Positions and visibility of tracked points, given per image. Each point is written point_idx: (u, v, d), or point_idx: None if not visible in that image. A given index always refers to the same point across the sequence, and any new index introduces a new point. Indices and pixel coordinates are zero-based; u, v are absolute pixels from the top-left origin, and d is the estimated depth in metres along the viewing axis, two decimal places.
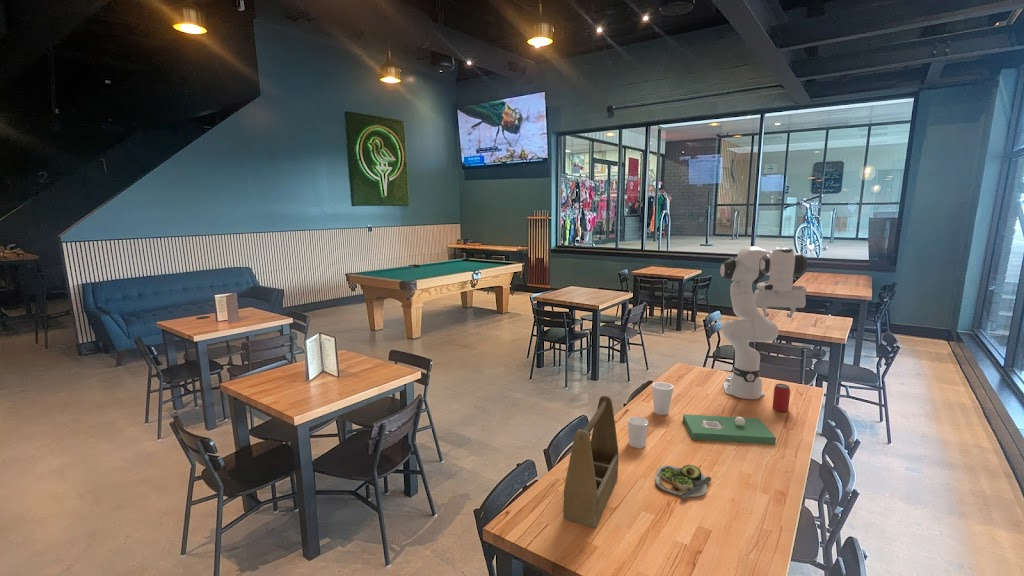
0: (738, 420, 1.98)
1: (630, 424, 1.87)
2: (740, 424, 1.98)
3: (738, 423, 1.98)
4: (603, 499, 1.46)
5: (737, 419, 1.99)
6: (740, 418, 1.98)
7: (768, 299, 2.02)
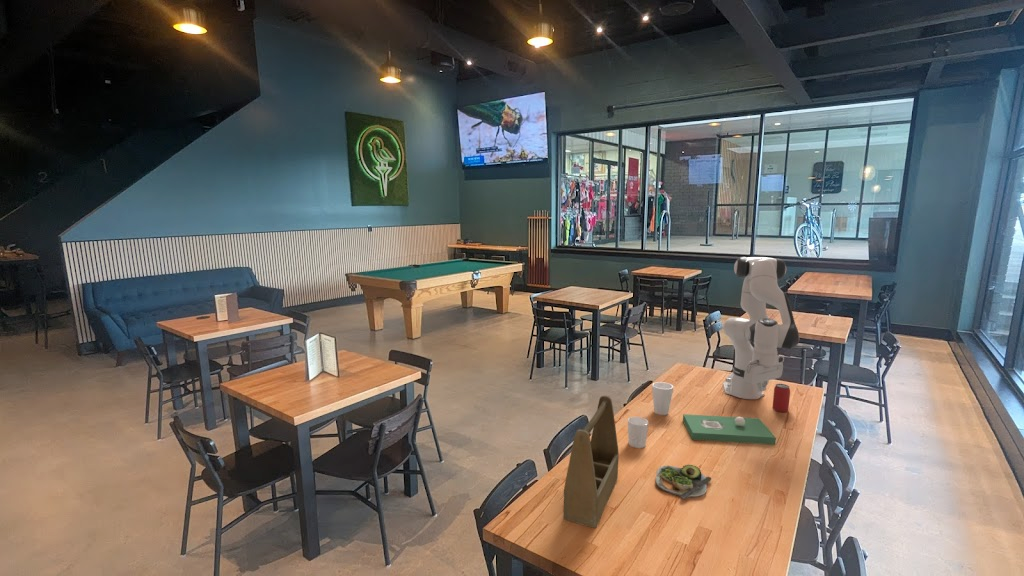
0: (738, 420, 1.98)
1: (630, 424, 1.87)
2: (740, 424, 1.98)
3: (738, 423, 1.98)
4: (603, 499, 1.46)
5: (737, 419, 1.99)
6: (740, 418, 1.98)
7: None
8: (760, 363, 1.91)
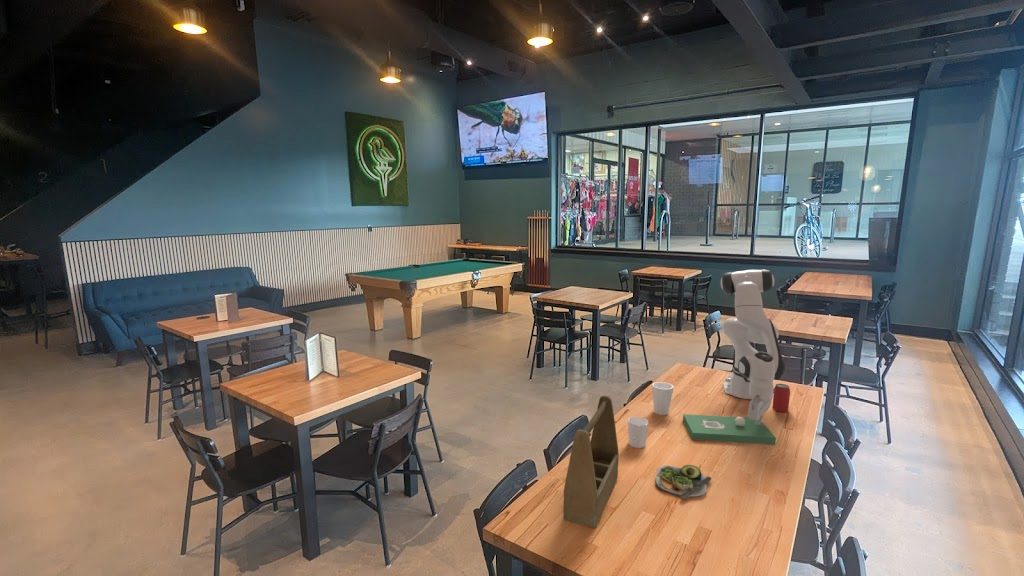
0: (738, 420, 1.98)
1: (630, 424, 1.87)
2: (740, 424, 1.98)
3: (738, 423, 1.98)
4: (603, 499, 1.46)
5: (737, 419, 1.99)
6: (740, 418, 1.98)
7: None
8: (760, 398, 1.92)
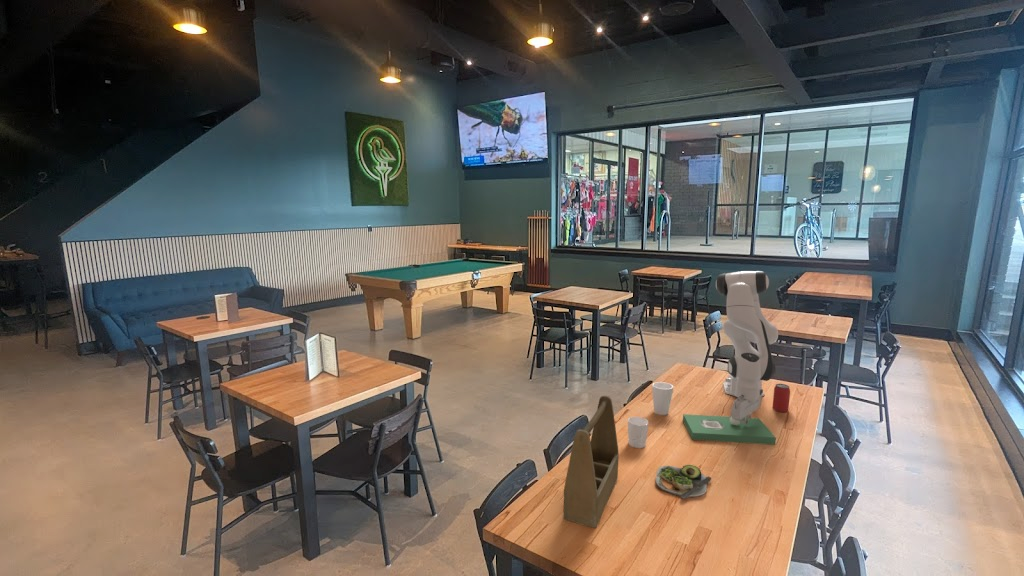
0: (731, 421, 1.99)
1: (630, 424, 1.87)
2: (736, 423, 1.98)
3: (734, 423, 1.99)
4: (603, 499, 1.46)
5: (731, 421, 2.00)
6: (731, 418, 2.00)
7: None
8: (745, 398, 1.93)
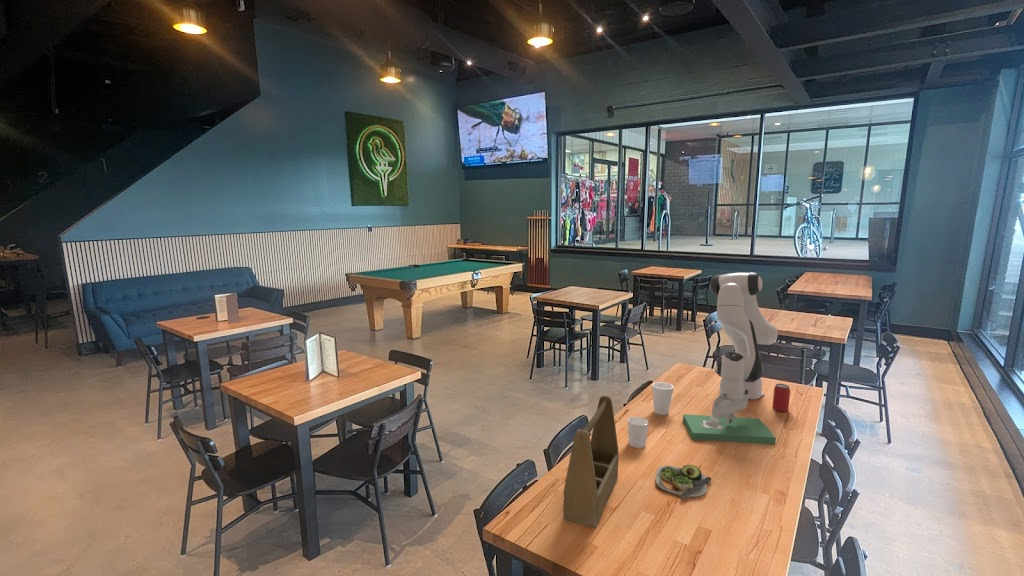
0: None
1: (630, 424, 1.87)
2: (713, 419, 2.01)
3: (714, 418, 2.01)
4: (603, 499, 1.46)
5: None
6: None
7: None
8: (727, 397, 1.95)
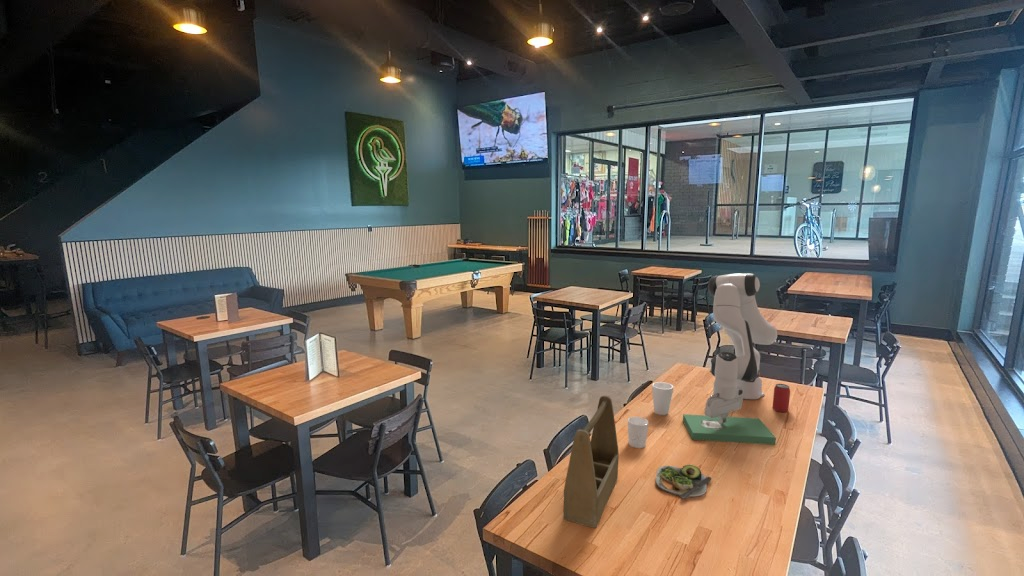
0: (709, 423, 2.02)
1: (630, 424, 1.87)
2: None
3: None
4: (603, 499, 1.46)
5: (711, 422, 2.02)
6: (711, 424, 2.01)
7: None
8: (720, 396, 1.95)
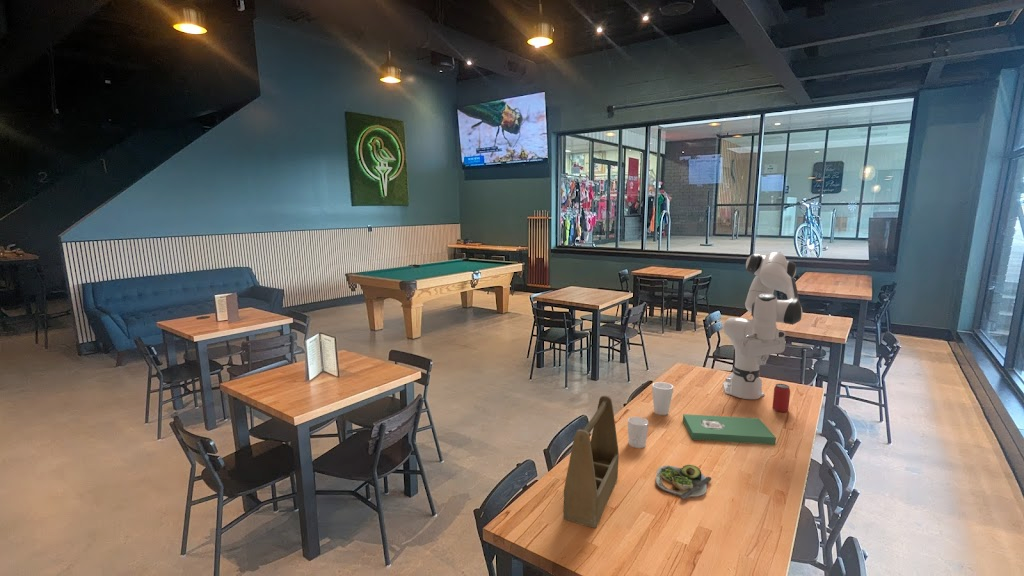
0: (709, 423, 2.02)
1: (630, 424, 1.87)
2: None
3: None
4: (603, 499, 1.46)
5: (711, 422, 2.02)
6: (711, 424, 2.01)
7: None
8: (758, 337, 1.95)
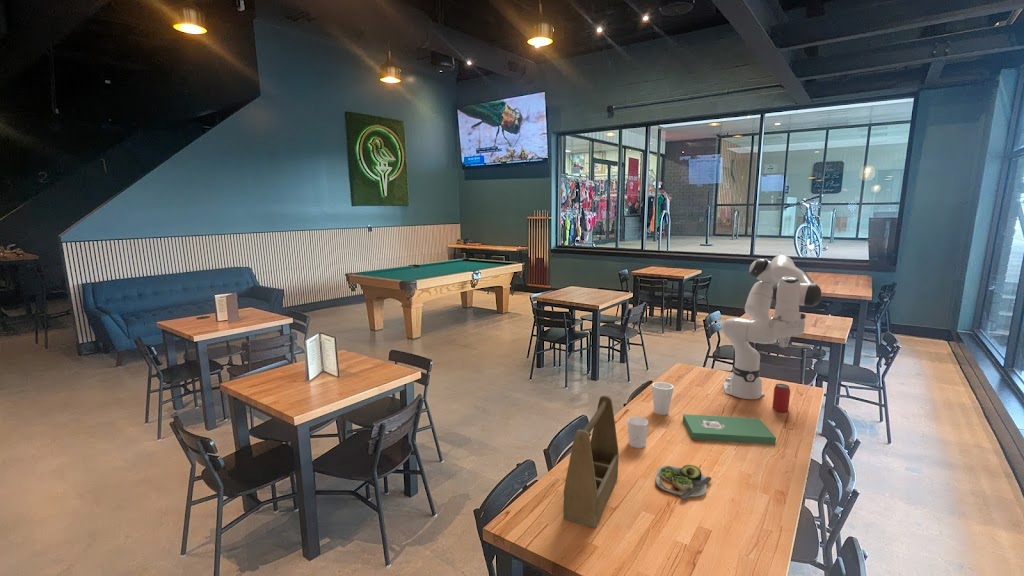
0: (709, 423, 2.02)
1: (630, 424, 1.87)
2: None
3: None
4: (603, 499, 1.46)
5: (711, 422, 2.02)
6: (711, 424, 2.01)
7: None
8: (782, 319, 1.98)
